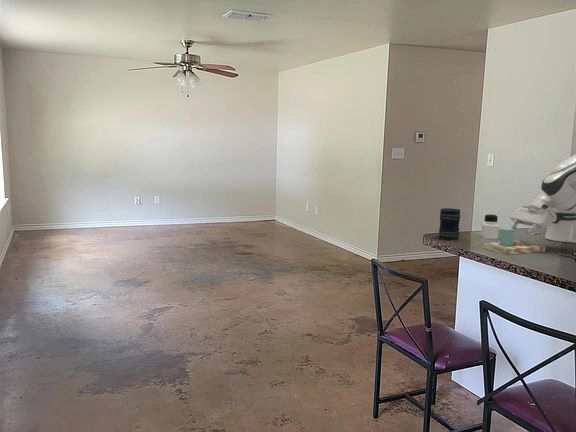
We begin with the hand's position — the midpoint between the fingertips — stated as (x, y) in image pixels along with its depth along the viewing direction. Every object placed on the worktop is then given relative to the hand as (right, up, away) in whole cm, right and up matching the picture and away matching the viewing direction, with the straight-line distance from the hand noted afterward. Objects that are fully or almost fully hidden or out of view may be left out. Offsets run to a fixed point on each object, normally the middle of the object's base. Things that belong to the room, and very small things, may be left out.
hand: (520, 230), depth 229 cm
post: (-8, -9, -3) cm, 12 cm away
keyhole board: (-4, -9, -1) cm, 10 cm away
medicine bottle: (-3, -5, +27) cm, 27 cm away
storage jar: (-25, -5, +24) cm, 35 cm away
